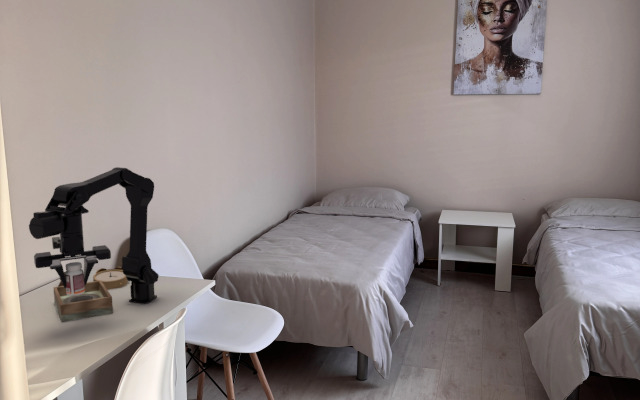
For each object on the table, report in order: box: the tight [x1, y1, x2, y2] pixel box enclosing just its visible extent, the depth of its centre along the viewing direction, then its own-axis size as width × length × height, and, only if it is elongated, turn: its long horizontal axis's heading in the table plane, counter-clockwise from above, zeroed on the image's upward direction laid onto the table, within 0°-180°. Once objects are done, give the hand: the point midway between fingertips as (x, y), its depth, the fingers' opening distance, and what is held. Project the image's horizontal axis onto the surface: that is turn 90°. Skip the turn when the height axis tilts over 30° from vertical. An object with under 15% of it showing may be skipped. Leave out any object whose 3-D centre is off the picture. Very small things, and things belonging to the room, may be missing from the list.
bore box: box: [53, 280, 114, 323], centre depth 164 cm, size 14×18×5 cm
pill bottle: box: [64, 261, 85, 296], centre depth 148 cm, size 5×5×8 cm
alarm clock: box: [92, 266, 129, 290], centre depth 187 cm, size 11×5×15 cm
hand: (75, 286), depth 148 cm, fingers closed on pill bottle, 5 cm apart
